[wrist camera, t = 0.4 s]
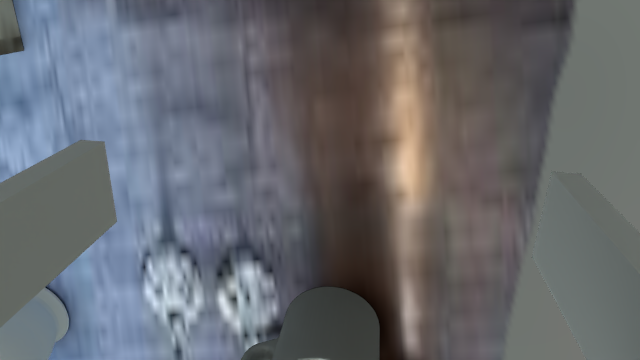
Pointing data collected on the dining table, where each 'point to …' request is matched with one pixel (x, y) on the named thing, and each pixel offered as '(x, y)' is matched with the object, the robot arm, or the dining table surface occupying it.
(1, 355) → the jar
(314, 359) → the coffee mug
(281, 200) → the dining table surface
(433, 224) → the dining table surface
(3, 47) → the box
